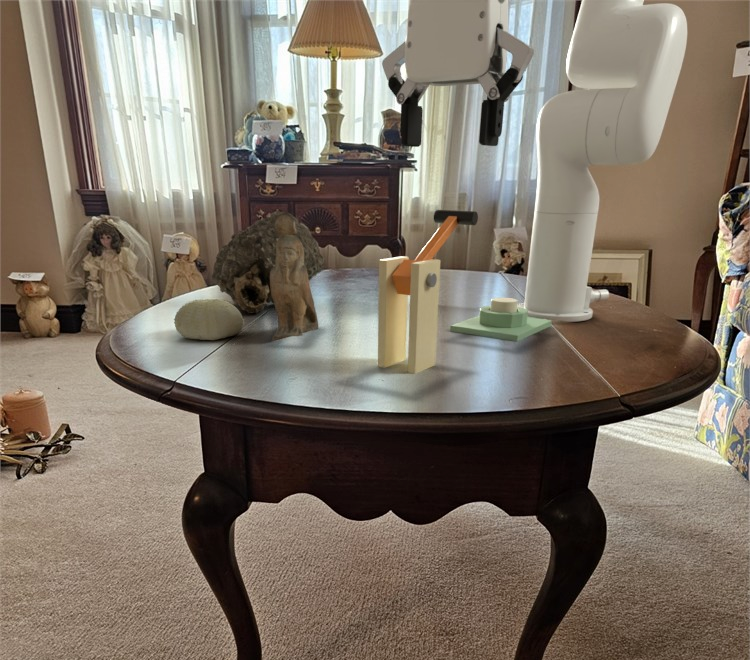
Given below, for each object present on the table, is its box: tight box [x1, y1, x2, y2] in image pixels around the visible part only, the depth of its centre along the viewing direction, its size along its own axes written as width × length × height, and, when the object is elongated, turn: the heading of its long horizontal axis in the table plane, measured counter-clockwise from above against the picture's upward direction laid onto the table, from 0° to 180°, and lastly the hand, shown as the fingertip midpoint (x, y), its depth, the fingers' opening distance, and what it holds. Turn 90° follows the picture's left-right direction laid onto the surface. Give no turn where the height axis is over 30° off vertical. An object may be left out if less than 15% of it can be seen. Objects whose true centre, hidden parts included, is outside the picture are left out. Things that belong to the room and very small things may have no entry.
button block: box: [449, 305, 553, 342], centre depth 92 cm, size 12×10×4 cm
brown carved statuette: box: [270, 212, 319, 342], centre depth 88 cm, size 12×6×18 cm, turn 170°
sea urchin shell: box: [173, 298, 244, 342], centre depth 92 cm, size 9×8×8 cm
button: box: [490, 297, 519, 313], centre depth 91 cm, size 4×4×2 cm
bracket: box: [377, 255, 441, 374], centre depth 72 cm, size 12×9×13 cm
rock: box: [211, 209, 326, 314], centre depth 109 cm, size 18×14×15 cm
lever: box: [392, 209, 479, 296], centre depth 72 cm, size 13×5×2 cm, turn 145°
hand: (448, 145), depth 71 cm, fingers open, 9 cm apart
